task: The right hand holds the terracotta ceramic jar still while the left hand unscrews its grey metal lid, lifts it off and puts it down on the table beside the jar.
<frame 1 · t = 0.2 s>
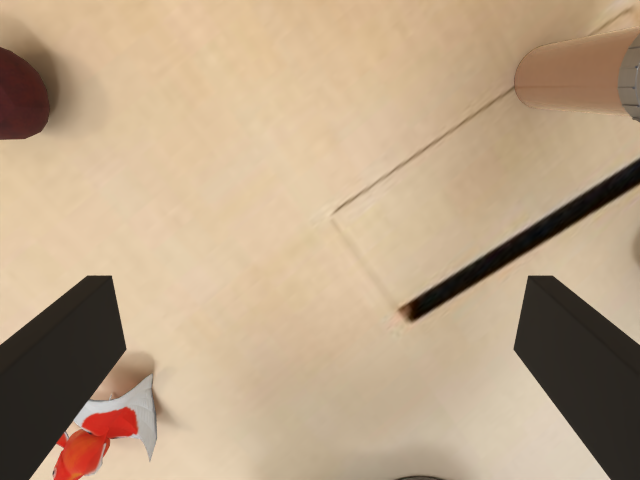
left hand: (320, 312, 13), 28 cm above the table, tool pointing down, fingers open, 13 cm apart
jar: (544, 77, 36), on the table
fish: (119, 401, 49), on the table
dark red ball: (27, 94, 37), on the table
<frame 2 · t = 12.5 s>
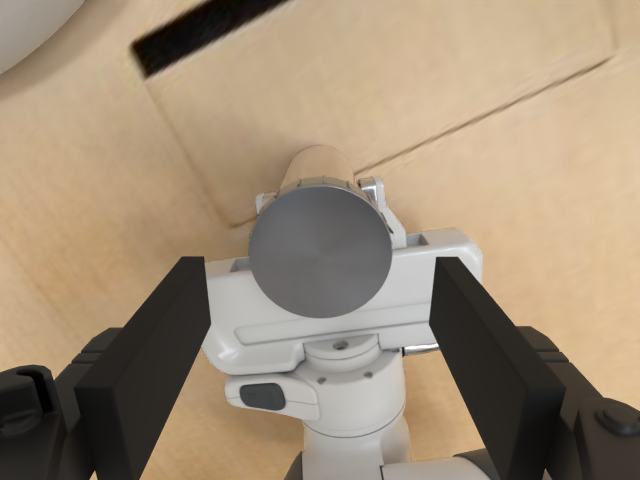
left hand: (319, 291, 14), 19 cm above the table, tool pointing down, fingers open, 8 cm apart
right hand: (317, 186, 26), fingers closed on jar, 5 cm apart
jar: (320, 179, 32), on the table, touching right hand
lid: (320, 253, 18), point 16 cm above the table, screwed on, not yet turned
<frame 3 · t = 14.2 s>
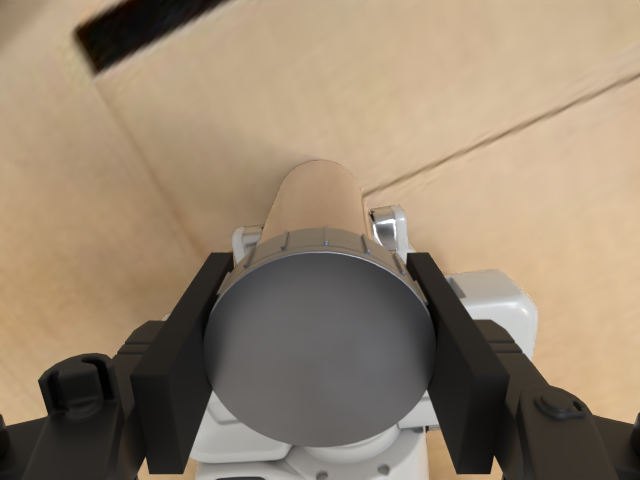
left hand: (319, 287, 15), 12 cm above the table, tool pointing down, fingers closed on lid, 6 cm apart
jar: (319, 202, 26), on the table, touching right hand
lid: (319, 351, 11), point 16 cm above the table, screwed on, not yet turned, touching left hand
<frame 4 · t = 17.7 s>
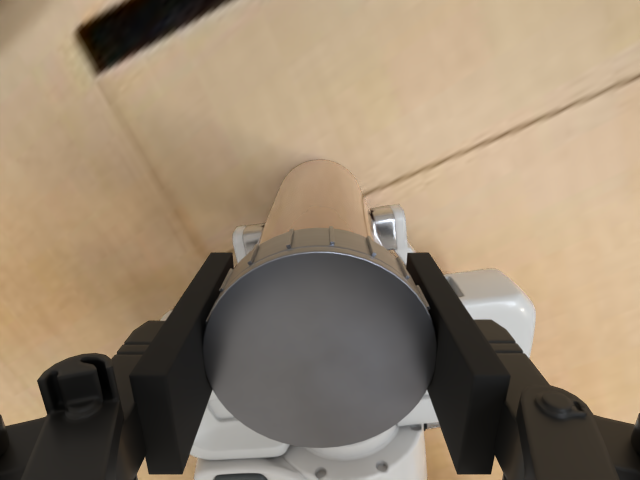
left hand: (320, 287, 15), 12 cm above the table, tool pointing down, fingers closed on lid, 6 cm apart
jar: (319, 201, 26), on the table, touching right hand
lid: (319, 352, 11), point 16 cm above the table, turned 118° so far, risen 0.2 cm, still on its thread, touching left hand
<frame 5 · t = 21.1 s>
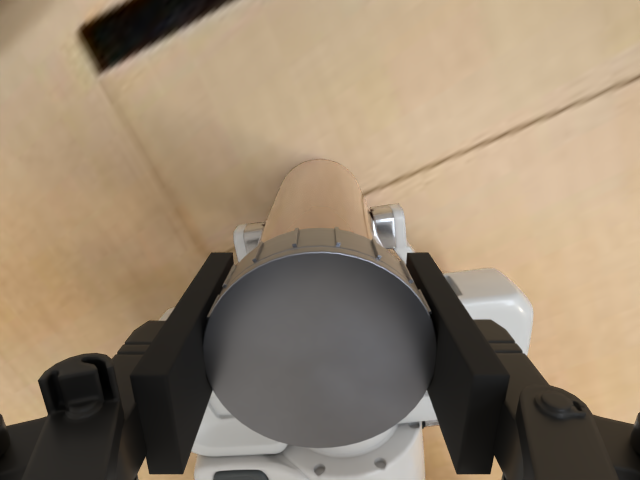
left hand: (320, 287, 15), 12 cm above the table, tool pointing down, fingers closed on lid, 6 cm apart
jar: (319, 200, 26), on the table, touching right hand
lid: (319, 352, 11), point 16 cm above the table, turned 235° so far, risen 0.4 cm, still on its thread, touching left hand
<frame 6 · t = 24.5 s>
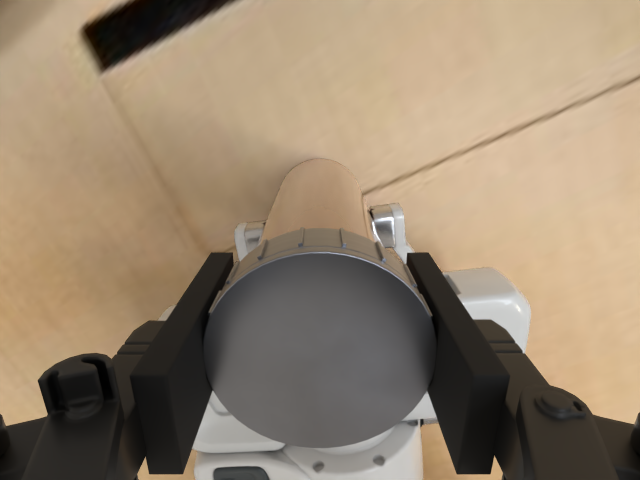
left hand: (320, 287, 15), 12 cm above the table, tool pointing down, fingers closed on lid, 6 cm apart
jar: (319, 200, 26), on the table, touching right hand
lid: (320, 352, 11), point 16 cm above the table, turned 353° so far, risen 0.6 cm, still on its thread, touching left hand
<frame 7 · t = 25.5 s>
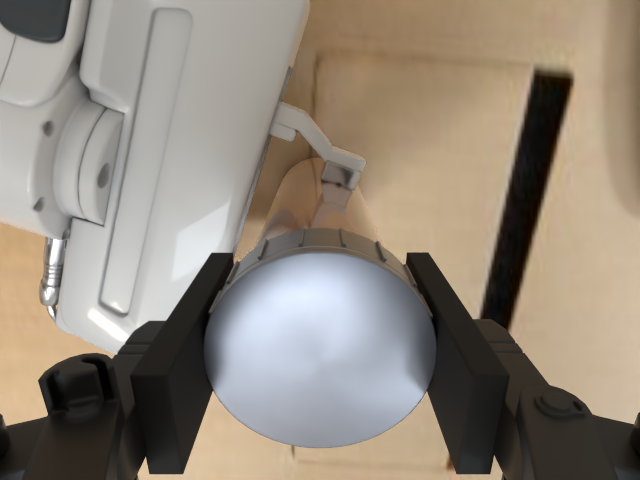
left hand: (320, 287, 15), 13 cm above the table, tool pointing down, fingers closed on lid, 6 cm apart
right hand: (336, 235, 20), fingers closed on jar, 5 cm apart
jar: (319, 198, 26), on the table, touching right hand
lid: (320, 352, 11), point 16 cm above the table, off its thread, touching left hand
when the left hand's fingers open (0 cm above the table, at t = 32.0 s): lid drops 3 cm, point 1 cm above the table.
when the right hand's fingers open (6 cm above the table, at t = 32.7 s): jar stays where it is, on the table.
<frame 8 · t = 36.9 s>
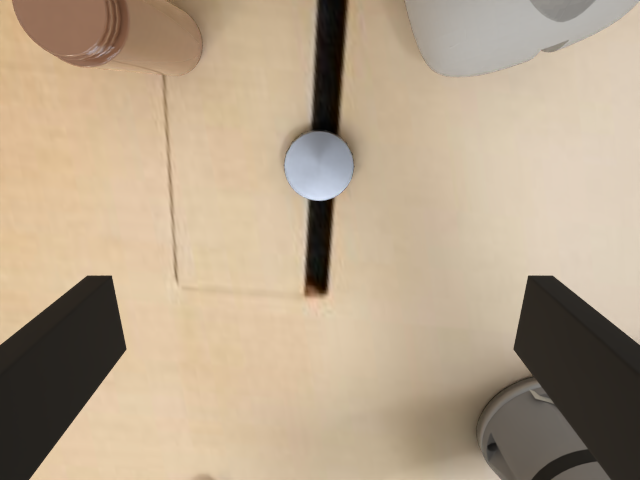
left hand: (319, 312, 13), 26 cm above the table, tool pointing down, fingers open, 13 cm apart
jar: (170, 41, 34), on the table
lid: (319, 166, 36), point 1 cm above the table, off its thread
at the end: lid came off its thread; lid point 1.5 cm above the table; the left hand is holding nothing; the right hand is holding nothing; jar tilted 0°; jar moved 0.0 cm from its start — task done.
